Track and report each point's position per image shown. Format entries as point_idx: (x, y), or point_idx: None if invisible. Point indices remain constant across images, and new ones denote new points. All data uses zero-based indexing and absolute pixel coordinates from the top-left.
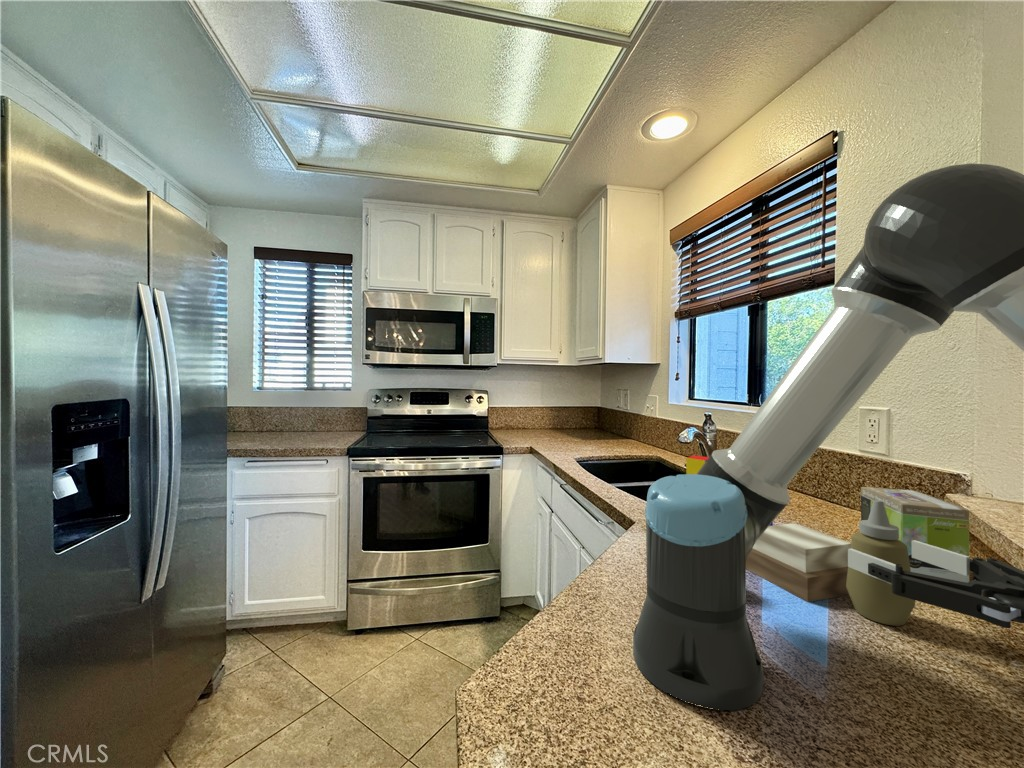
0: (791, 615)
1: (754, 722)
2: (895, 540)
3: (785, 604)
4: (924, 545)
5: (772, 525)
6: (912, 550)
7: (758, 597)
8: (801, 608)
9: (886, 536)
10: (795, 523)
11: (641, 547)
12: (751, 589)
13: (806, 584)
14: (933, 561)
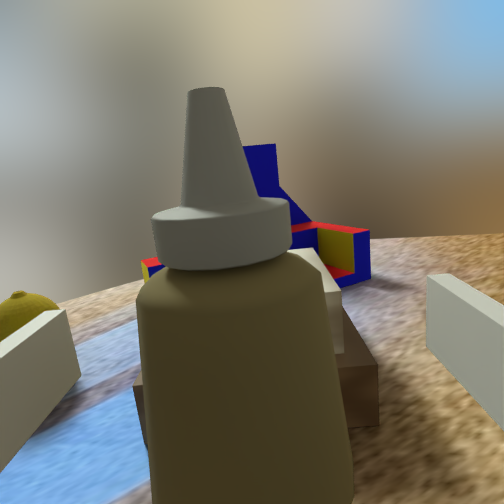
0: (18, 487)
1: None
2: (242, 273)
3: (78, 445)
4: (451, 296)
5: (368, 260)
6: (428, 317)
7: (64, 417)
8: (89, 465)
9: (174, 253)
10: (311, 248)
11: (102, 300)
12: (95, 393)
13: (136, 401)
14: (468, 377)
